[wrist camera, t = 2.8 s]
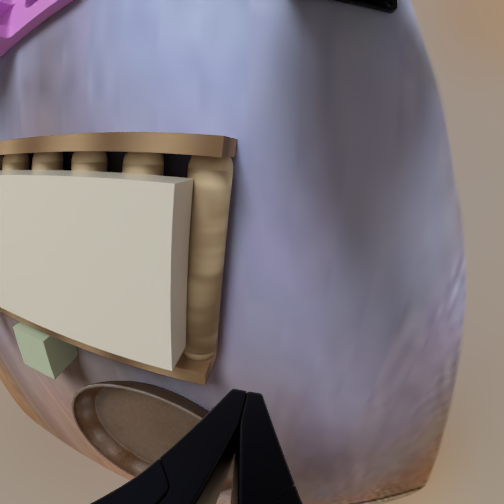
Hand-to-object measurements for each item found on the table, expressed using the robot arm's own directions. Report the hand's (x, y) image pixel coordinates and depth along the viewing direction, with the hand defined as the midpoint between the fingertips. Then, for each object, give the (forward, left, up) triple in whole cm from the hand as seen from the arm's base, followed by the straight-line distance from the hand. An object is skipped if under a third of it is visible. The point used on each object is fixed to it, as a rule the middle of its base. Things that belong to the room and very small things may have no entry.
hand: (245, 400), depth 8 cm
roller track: (+15, 0, -11) cm, 18 cm away
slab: (+13, 0, -8) cm, 15 cm away
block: (+18, +10, -11) cm, 23 cm away
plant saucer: (+8, +19, -11) cm, 24 cm away
